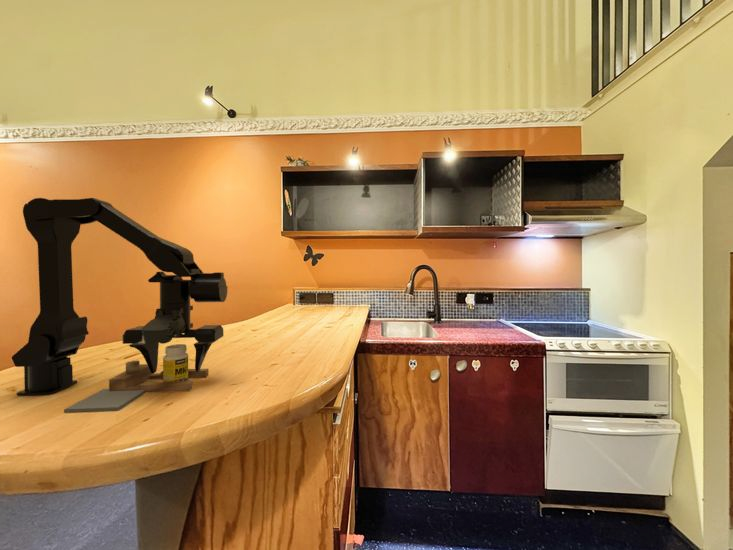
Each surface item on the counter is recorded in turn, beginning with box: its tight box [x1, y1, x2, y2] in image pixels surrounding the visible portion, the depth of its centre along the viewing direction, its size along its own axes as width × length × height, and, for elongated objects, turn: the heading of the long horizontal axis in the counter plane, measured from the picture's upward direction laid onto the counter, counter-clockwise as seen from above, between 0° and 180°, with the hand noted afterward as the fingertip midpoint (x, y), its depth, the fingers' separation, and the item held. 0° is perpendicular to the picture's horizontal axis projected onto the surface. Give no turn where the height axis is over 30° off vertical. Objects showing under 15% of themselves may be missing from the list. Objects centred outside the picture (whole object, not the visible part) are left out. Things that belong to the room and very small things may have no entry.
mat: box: [63, 388, 146, 414], centre depth 58 cm, size 9×9×1 cm
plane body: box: [108, 360, 209, 394], centre depth 66 cm, size 16×10×5 cm, turn 96°
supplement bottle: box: [162, 343, 189, 382], centre depth 66 cm, size 5×5×8 cm
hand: (175, 372), depth 66 cm, fingers open, 9 cm apart
